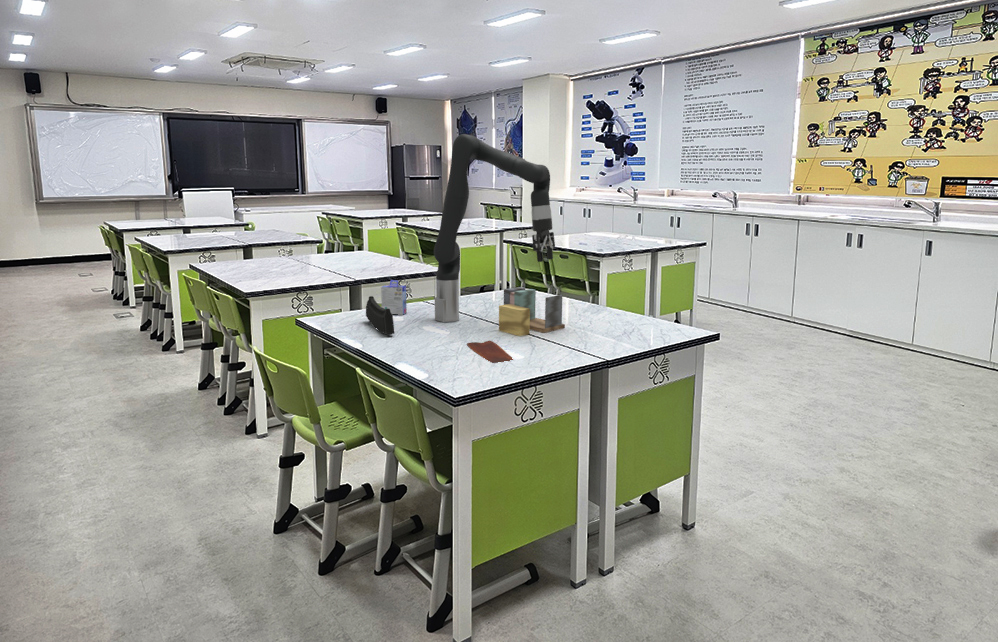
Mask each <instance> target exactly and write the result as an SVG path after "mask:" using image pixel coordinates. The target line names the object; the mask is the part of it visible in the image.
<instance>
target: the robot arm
mask: <svg viewBox="0 0 998 642" xmlns="http://www.w3.org/2000/svg"><path fill="white" fill-rule="evenodd" d="M470 160H475V161H481V162H484V163H488V164H489V165H491V166H494V167H495V168H498V169H499V170H501V171H503V172H505V173H508V174H510V175H514V176H516V177H519V178H520V179H522V180H524V181H526V182H528V183H530V184H533V186H532V187H533V190H532V191H531V193H530V205H531V207H530V208H531V212H530V214H531V222H532V231H533V232H536V234H532V235H531V237H532V251H533V252H534V251H535V253H536V258H537V259H536V261H537V263H542V262H544V252H543V250H544V247H545V249H546V258H547V260H553V259H554V255H553V250H554V248H556V241H555V234H554V231H552V232H551V230H553V219H552V218H553V217H552V210H551V209H552V208H551V200H550V188H551V186H550V185H551V174H550V170H549V168H548V167H547V166H546V165H544V164H537V163H533V162H531V161H528V160H526V159H525V158H523V157H521V156H518V155H516V154H513V153H510V152H507V151H504V150H501V149H498V148H495V147H493V146H492V145H489V144H488V143H485V142H484V141H483V140H481V139H480V138H477V137H476V136H474V135H472V134H464V133H463V134H462V133H461V134H459V135H457V136H456V137H455V138H454V141H453V143H452V150H451V160H450V170H449V175H448V181H447V185H446V191H445V195H444V201H443V205H442V206H443V207H442V214H441V217H440V218H441V219H440V220H441V221H440V227H439V232H438V235H437V238H436V241H435V244H434V247H433V256H434V258H435V260H436V262H437V263H438V265H437V266H438V267H437V270H436V273H435V274H436V275H435V279H436V281H435V283H436V284H435V285H436V286H435V287H436V297H434V320H435V321H438V322H441V323H452V322H454V323H455V322H458V321H459V320H460V299H459V298H460V297H459V295H460V291H459V290H460V289H459V288H460V287H459V285H460V283H459V280H460V278H459V277H460V276H459V275H460V271H461V248H460V246H459V244H458V242H457V238H458V235H457V234H458V232H459V228H460V226H461V224H462V222H463V219H464V217H465V215H466V212H467V208H468V202H469V196H470V190H469V189H470V188H469V181H468V168H469V164H470Z"/></svg>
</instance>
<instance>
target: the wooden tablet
mask: <svg viewBox="0 0 998 642" xmlns="http://www.w3.org/2000/svg"><path fill="white" fill-rule="evenodd" d="M466 345H467V347H468V348H470V350H472V352H474V353H475V354H478V356H480V357H481V358H483V359H484V358H485V359H484V360H486V361H487V360H488V361H487V362H489V361H490V362H489V363H491V362H492V364H498V362H501V363H505V362H504V361H508V362H511V361H510V360H513V361H514V358H513V357H512V356H511V355H509V353H507V351H505V350H504V349H503V348H502V347H501V346H500V345H498V344H497V343H495V342H494V341H493V340H486V341H484V342H479V341H478V342H477V341H475V342H473V341H471V342H467V343H466ZM512 358H513V359H512Z"/></svg>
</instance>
